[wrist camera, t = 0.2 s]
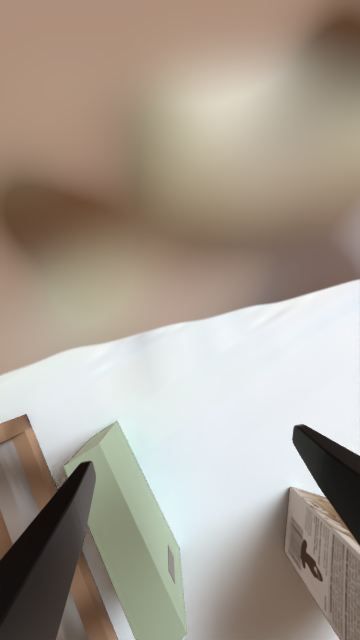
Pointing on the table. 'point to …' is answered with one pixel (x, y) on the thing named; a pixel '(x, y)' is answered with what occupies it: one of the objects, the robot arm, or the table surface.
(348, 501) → the robot arm
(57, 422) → the table surface
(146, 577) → the door panel
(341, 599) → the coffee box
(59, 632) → the cabinet base
